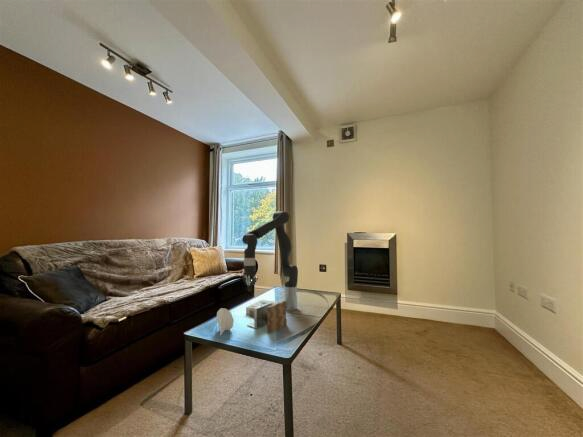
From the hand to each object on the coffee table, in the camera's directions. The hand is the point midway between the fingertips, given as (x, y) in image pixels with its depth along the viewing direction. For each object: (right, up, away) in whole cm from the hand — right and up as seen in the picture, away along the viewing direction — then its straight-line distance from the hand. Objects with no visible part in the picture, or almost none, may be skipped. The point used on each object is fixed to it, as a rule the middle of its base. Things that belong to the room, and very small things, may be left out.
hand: (249, 290), depth 156 cm
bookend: (+7, -19, -6) cm, 21 cm away
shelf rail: (+11, -20, +1) cm, 23 cm away
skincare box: (+14, -18, +16) cm, 27 cm away
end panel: (+19, -19, -13) cm, 30 cm away
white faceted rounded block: (-12, -19, -19) cm, 30 cm away
